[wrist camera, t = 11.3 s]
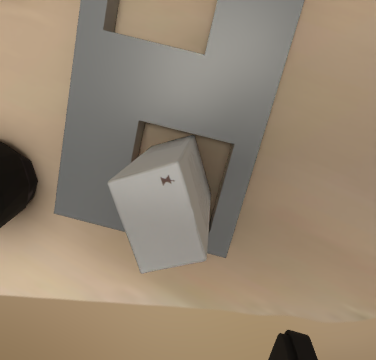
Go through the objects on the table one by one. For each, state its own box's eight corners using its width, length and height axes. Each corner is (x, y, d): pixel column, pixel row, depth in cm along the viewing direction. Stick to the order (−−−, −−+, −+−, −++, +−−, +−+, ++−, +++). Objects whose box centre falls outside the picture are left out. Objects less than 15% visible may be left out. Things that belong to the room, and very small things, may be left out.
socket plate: (317, -63, 23) (329, -81, 20) (225, 245, 30) (225, 257, 27) (110, -111, 23) (97, -135, 21) (66, 204, 30) (53, 213, 28)
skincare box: (149, 145, 28) (103, 178, 16) (194, 133, 27) (179, 158, 16) (169, 206, 29) (138, 277, 18) (212, 196, 29) (210, 261, 17)
